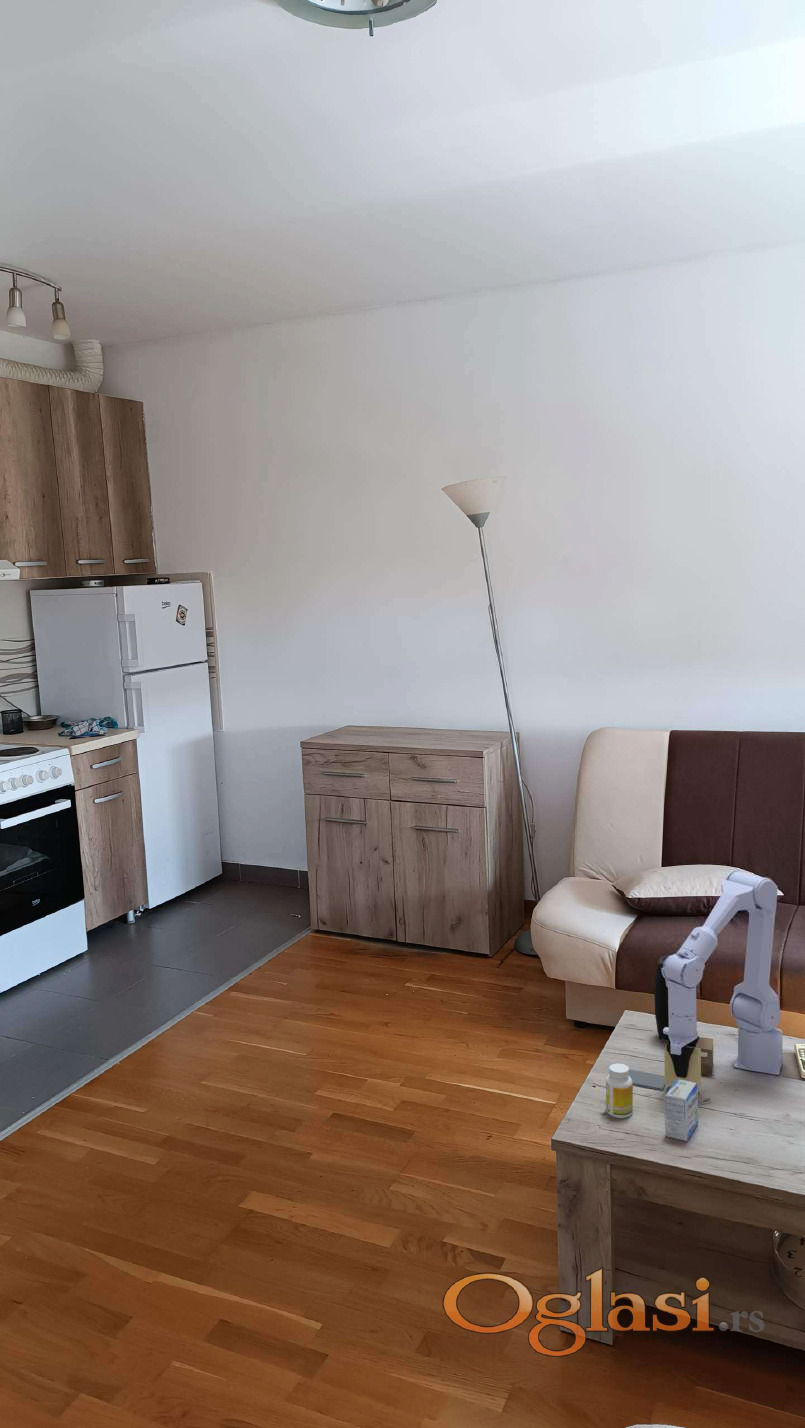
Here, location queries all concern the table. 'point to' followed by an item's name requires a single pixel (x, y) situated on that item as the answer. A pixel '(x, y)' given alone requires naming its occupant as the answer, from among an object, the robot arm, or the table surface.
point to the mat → (647, 1080)
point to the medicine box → (681, 1109)
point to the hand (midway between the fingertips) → (683, 1073)
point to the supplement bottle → (619, 1091)
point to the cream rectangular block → (693, 1069)
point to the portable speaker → (661, 1000)
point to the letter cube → (706, 1055)
